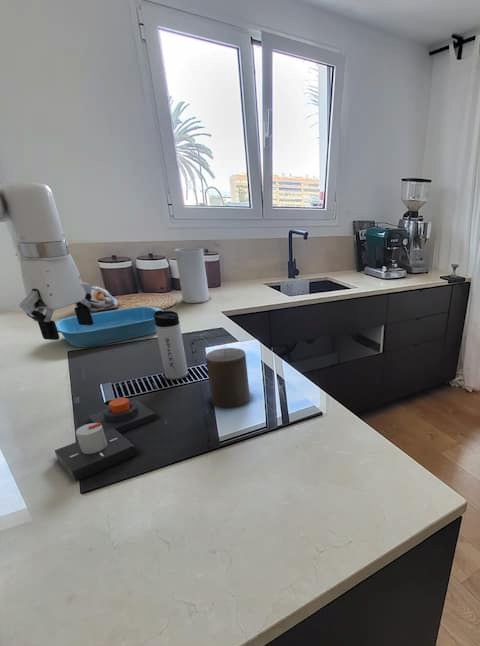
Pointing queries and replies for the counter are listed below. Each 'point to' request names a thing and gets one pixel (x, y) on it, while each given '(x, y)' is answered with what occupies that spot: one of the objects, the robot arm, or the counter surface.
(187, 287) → the cylinder vase
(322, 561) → the counter surface
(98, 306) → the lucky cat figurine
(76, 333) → the casserole dish
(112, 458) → the panel
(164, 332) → the travel mug
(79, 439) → the timer dial
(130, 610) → the counter surface
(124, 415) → the block
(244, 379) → the pillar candle
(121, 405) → the button
